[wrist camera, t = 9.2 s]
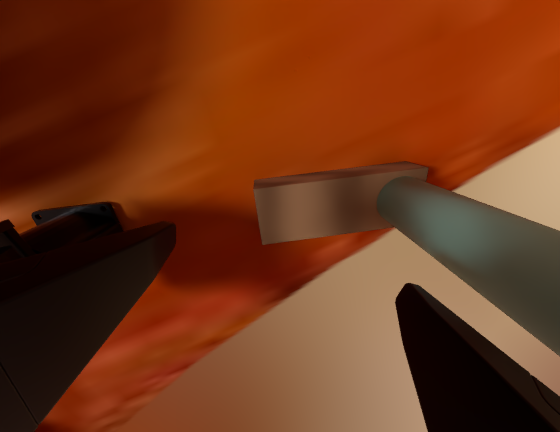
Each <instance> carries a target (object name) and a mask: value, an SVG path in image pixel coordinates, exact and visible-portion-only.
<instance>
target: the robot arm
mask: <svg viewBox="0 0 560 432" xmlns="http://www.w3.org/2000/svg"><path fill="white" fill-rule="evenodd" d="M103 206H104V207H106V208H107V210H105V209H104V208H103ZM39 215H40V216H41V217H40V216H39ZM32 218H33V220H34V221H35V223H36V225H37V226H36V227H34V228H31V229H29V230H27V231H25V232H23V233H21V234H18V233H17V231H16V230H15V229H14V228H13V227H15V226H14V225H13V224H12V223H11V222H10V220H9V219H7V220H4V221H1V222H0V432H34V431H35V430H36V429H37V427H38V424H40V423H41V422H42V421H43V419H44V418H45V417H46V416H47V414H48V413H49V412H50V411H51V409H52V408H53V407H54V405H55V404H56V403H57V402H58V400H59V399H60V398H61V397H62V395H63V394H64V393H65V392H66V390H67V389H68V388H69V387H70V385H71V384H72V383H73V381H74V380H75V379H76V378H77V376H78V375H79V374H80V373H81V371H82V370H83V369H84V368H85V366H86V365H87V364H88V363H89V361H90V360H91V359H92V357H93V356H94V355H95V354H96V352H97V351H98V350H99V349H100V347H101V346H102V345H103V344H104V342H105V341H106V340H107V339H108V337H109V336H110V335H111V333H112V332H113V331H114V330H115V328H116V327H117V326H118V325H119V323H120V322H121V321H122V320H123V318H124V317H125V316H126V314H127V313H128V312H129V311H130V309H131V308H132V307H133V306H134V304H135V303H136V302H137V301H138V299H139V298H140V297H141V296H142V294H143V293H144V292H145V290H146V289H147V288H148V287H149V285H150V284H151V283H152V281H153V280H154V279H155V277H156V276H157V274H158V272H159V271H160V269H161V268H162V266H163V264H164V263H165V261H166V260H167V258H168V256H169V255H170V253H171V252H172V250H173V248H174V247H175V244H176V225H175V224H174V223H170V222H166V221H162V222H158V223H155V224H151V225H147V226H143V227H139V228H136V229H132V230H128V231H123V229H122V227H121V225H120V223H119V221H118V219H117V217H116V214H115V212H114V210H113V207H112V206H111V204H109V203H107V202H100V203H92V204H84V205H76V206H68V207H60V208H51V209H43V210H38V211H35V212H33V213H32ZM395 304H396V310H397V315H398V321H399V326H400V331H401V337H402V341H403V346H404V350H405V353H406V357H407V360H408V364H409V367H410V371H411V374H412V377H413V381H414V385H415V388H416V392H417V395H418V399H419V402H420V406H421V409H422V413H423V416H424V420H425V423H426V427H427V430H428V432H560V396H558V395H557V394H556V393H554V392H553V391H552V390H551V389H549V388H548V387H547V386H546V385H544V384H543V383H542V382H540V381H539V380H537V378H535V377H534V376H532V375H530V373H529V372H528V371H527V370H525V369H524V368H523V367H521V366H520V365H519V364H518V363H516V362H515V361H514V360H513V359H511V358H510V357H509V356H508V355H506V354H505V353H504V352H502V351H501V350H500V349H499V348H497V347H496V346H495V345H494V344H492V343H491V342H490V341H489V340H487V339H486V338H485V337H484V336H482V335H481V334H480V333H479V332H477V331H476V330H475V329H473V328H472V327H471V326H470V325H468V324H467V323H466V322H465V321H463V320H462V319H461V318H460V317H458V316H456V314H454V313H453V312H452V311H451V310H449V309H448V308H447V307H446V306H444V305H443V304H442V303H441V302H439V301H438V300H437V299H436V298H434V297H433V296H432V295H430V294H429V293H428V292H427V291H425V290H424V289H423V288H422V287H420V286H419V285H415V284H411V283H406V284H405V285H404V287H403V288H402V290H401V291H400V293H399V294H398V296H397V297H396V302H395Z"/></svg>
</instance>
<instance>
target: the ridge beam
mask: <svg viewBox="0 0 560 432" xmlns="http://www.w3.org/2000/svg"><path fill="white" fill-rule="evenodd" d="M427 173H428V167H425V166H421V165H417V164H414V163H410V162H407V161H404V162H396V163H388V164H380V165H372V166H364V167H356V168H348V169H339V170H331V171H323V172H315V173H307V174H299V175H291V176H283V177H275V178H267V179H259V180H254V196H255V202H256V208H257V215H258V221H259V227H260V234H261V240H262V245H265V244H273V243H280V242H287V241H295V240H302V239H310V238H317V237H325V236H332V235H340V234H347V233H355V232H362V231H370V230H377V229H385V228H392V227H394V226H393V225H391V224H390V223H389V222H388V221H386V220H385V219H384V218H383V217H381V215H380V214H379V212H378V210H377V198H378V195H379V193H380V191H381V190H382V188H383V187H384V186H385V185H386V184H387V183H388V182H390V181H391V180H393V179H395V178H398V177H402V176H410V177H413V178H416V179H419V180H422V181H424V182H426V179H427Z"/></svg>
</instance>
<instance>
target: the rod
mask: <svg viewBox="0 0 560 432" xmlns="http://www.w3.org/2000/svg"><path fill="white" fill-rule="evenodd" d="M377 210H378V212H379V214H380V215H381V217H383V218H384V219H385V220H386V221H388V222H389V223H390V224H391V225H393V226H394V227H395V228H397V229H398V230H399V231H400V232H402V233H403V234H404V235H406V236H407V237H408V238H409V239H411V240H412V241H413V242H415V243H416V244H417V245H418V246H420V247H421V248H422V249H423V250H425V251H426V252H427V253H429V254H430V255H431V256H432V257H434V258H435V259H436V260H437V261H439V262H440V263H441V264H443V265H444V266H445V267H446V268H448V269H449V270H450V271H451V272H453V273H454V274H456V275H457V276H458V277H459V278H460V279H462V280H463V281H464V282H466V283H467V284H468V285H469V286H471V287H472V288H473V289H474V290H476V291H477V292H478V293H480V294H481V295H482V296H484V297H485V298H486V299H487V300H489V301H490V302H491V303H492V304H494V305H495V306H496V307H497V308H499V309H500V310H501V311H502V312H504V313H505V314H506V315H508V316H509V317H510V318H512V319H513V320H514V321H515V322H517V323H518V324H519V325H520V326H522V327H523V328H524V329H525V330H527V331H528V332H529V333H531V334H532V335H533V336H534V337H536V338H537V339H538V340H540V341H541V342H542V343H543V344H545V345H546V346H547V347H549V348H550V349H551V350H552V351H554V352H555V353H556V354H557V355H559V356H560V231H558V230H556V229H553V228H550V227H547V226H544V225H542V224H539V223H536V222H534V221H531V220H528V219H526V218H523V217H520V216H517V215H514V214H512V213H509V212H506V211H503V210H501V209H498V208H495V207H493V206H490V205H487V204H484V203H482V202H479V201H476V200H474V199H471V198H468V197H465V196H463V195H460V194H457V193H454V192H452V191H449V190H446V189H443V188H441V187H438V186H435V185H433V184H430V183H427V182H424V181H422V180H419V179H416V178H413V177H410V176H402V177H398V178H395V179H393V180H391V181H390V182H388V183H387V184H386V185H385V186H384V187H383V188H382V190H381V191H380V193H379V195H378V198H377Z"/></svg>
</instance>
